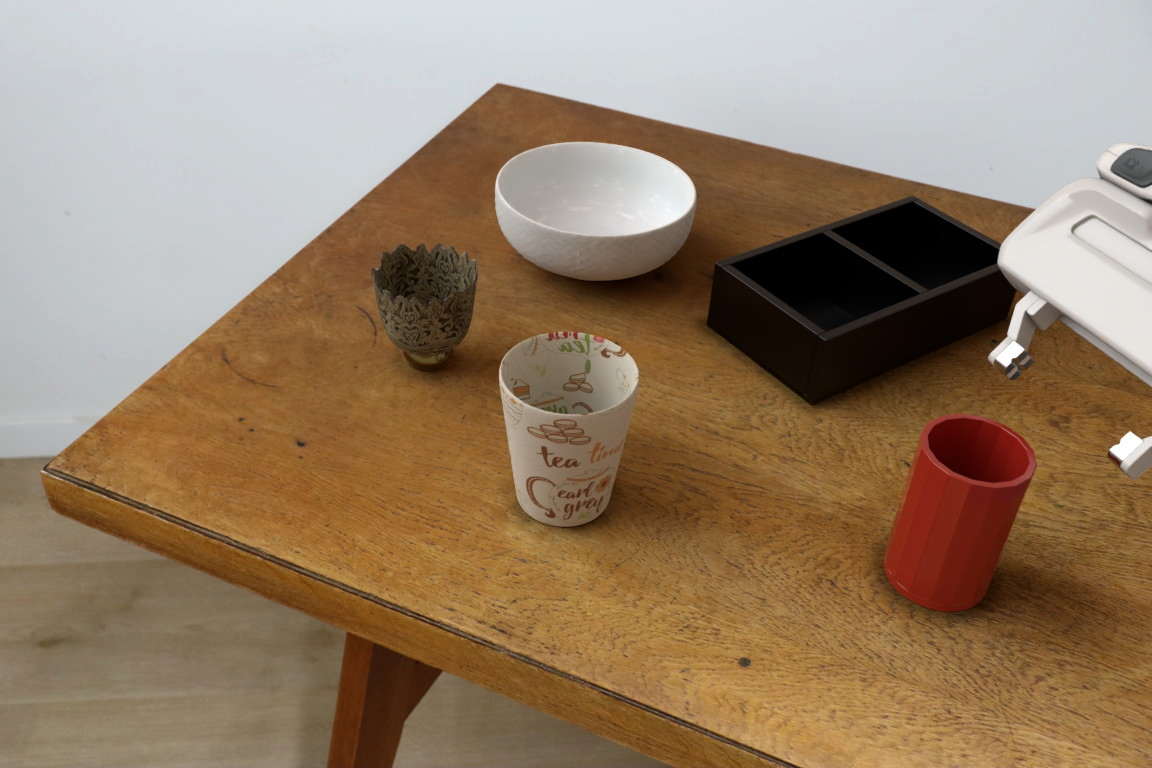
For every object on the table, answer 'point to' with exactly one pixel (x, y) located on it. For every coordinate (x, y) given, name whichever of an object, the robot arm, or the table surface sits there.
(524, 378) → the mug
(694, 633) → the table surface
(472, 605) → the table surface
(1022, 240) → the robot arm
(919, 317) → the caddy
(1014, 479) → the cup
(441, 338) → the cup
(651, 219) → the cereal bowl
